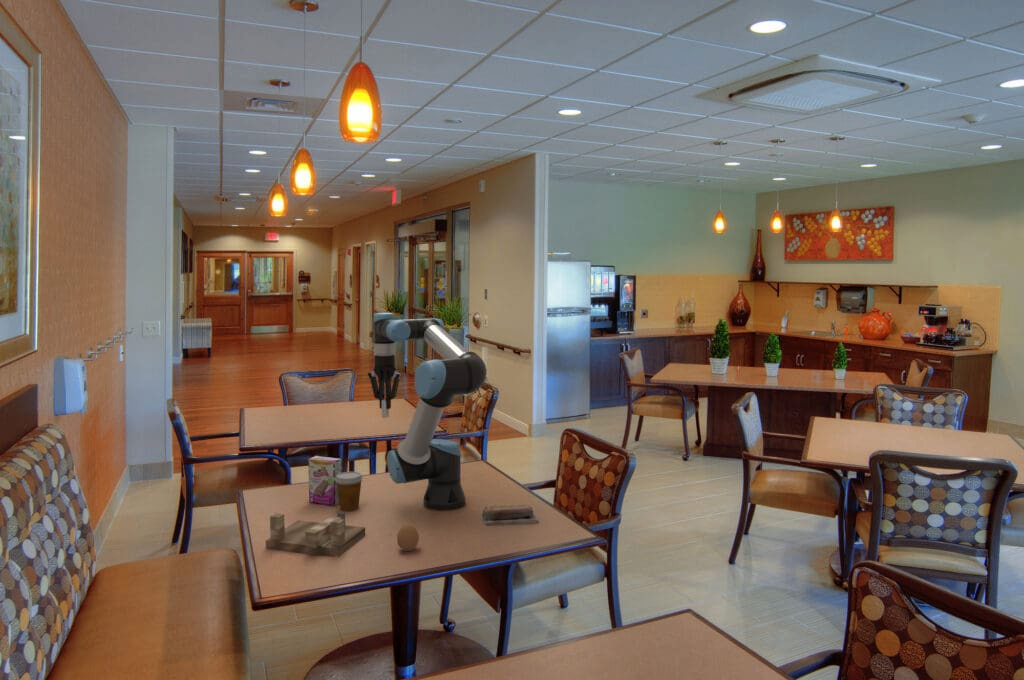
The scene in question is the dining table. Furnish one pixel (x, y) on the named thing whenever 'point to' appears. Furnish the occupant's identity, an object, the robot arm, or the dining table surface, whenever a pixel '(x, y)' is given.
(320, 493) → the candy bar box
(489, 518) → the stapler
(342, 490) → the disposable coffee cup
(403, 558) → the dining table surface
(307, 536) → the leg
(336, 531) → the wooden block assembly
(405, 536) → the egg
